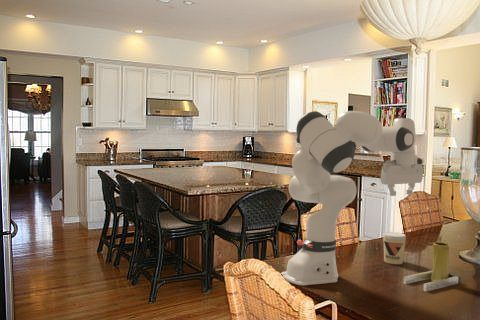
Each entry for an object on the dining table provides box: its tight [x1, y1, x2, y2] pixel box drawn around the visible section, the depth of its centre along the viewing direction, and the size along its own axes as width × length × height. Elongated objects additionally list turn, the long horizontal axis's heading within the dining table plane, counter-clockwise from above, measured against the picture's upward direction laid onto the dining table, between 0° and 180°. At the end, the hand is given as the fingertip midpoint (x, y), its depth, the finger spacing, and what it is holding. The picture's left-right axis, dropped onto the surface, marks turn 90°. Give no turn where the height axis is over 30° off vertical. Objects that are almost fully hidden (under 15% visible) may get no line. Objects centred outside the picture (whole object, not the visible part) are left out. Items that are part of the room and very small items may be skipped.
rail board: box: [403, 270, 462, 292], centre depth 158 cm, size 20×10×2 cm, turn 119°
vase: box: [430, 241, 450, 282], centre depth 160 cm, size 6×6×14 cm
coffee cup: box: [382, 231, 407, 265], centre depth 185 cm, size 9×9×12 cm
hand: (401, 195), depth 168 cm, fingers open, 8 cm apart
